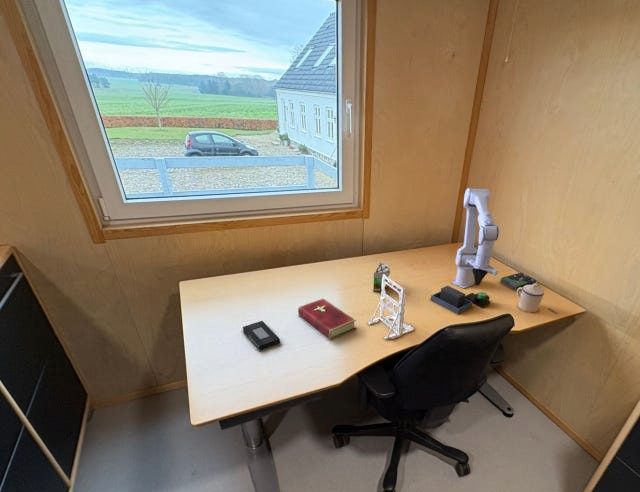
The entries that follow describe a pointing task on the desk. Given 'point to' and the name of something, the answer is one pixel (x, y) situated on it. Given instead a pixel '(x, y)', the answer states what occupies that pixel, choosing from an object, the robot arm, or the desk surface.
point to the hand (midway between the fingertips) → (477, 284)
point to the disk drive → (517, 281)
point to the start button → (482, 295)
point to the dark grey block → (452, 296)
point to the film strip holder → (392, 311)
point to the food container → (380, 276)
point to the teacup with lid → (530, 297)
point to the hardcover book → (327, 318)
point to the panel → (478, 300)
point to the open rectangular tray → (466, 305)
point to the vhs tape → (261, 335)
